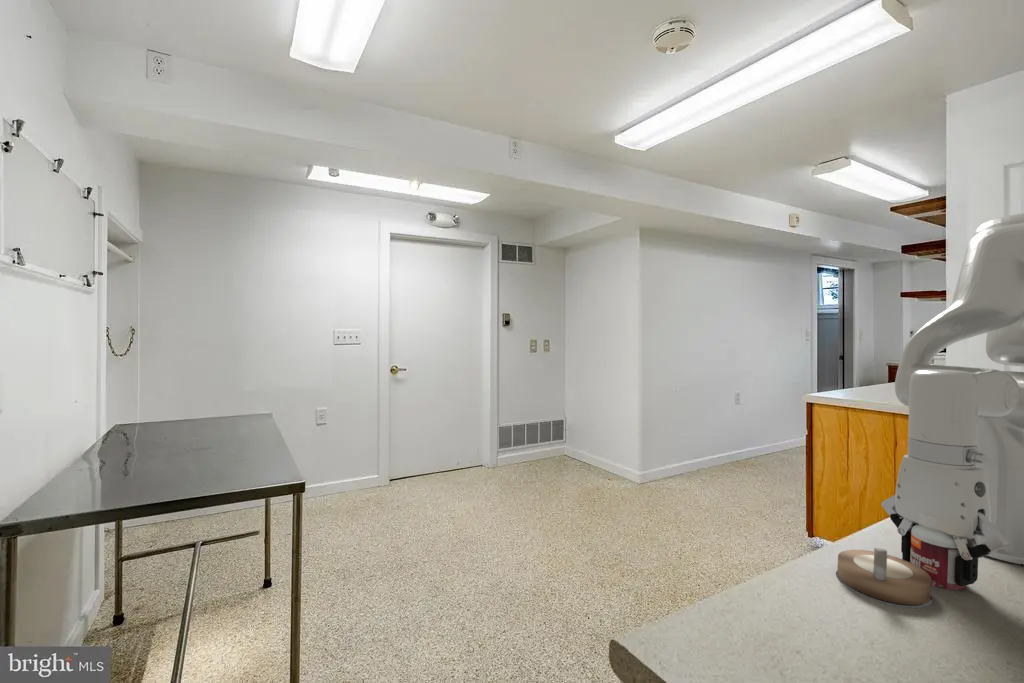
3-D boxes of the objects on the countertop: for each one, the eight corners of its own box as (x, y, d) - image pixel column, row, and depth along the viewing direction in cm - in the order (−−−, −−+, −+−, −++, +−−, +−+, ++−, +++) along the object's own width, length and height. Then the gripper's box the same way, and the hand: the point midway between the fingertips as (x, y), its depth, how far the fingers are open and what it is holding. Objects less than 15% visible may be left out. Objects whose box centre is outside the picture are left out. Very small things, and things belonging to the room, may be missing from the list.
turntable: (842, 558, 76) (843, 518, 76) (930, 582, 69) (932, 538, 68) (832, 584, 68) (833, 540, 68) (930, 614, 61) (932, 565, 61)
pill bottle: (899, 580, 72) (901, 507, 72) (929, 575, 74) (931, 504, 74) (944, 602, 67) (946, 523, 66) (976, 597, 68) (978, 519, 68)
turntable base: (870, 571, 75) (870, 561, 75) (952, 610, 65) (952, 599, 65) (817, 581, 72) (818, 571, 72) (895, 624, 61) (895, 613, 61)
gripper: (1035, 467, 63) (1030, 599, 63) (896, 438, 79) (892, 543, 80) (999, 471, 60) (994, 609, 61) (863, 441, 77) (860, 549, 77)
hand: (936, 570), depth 70 cm, fingers closed on pill bottle, 6 cm apart
